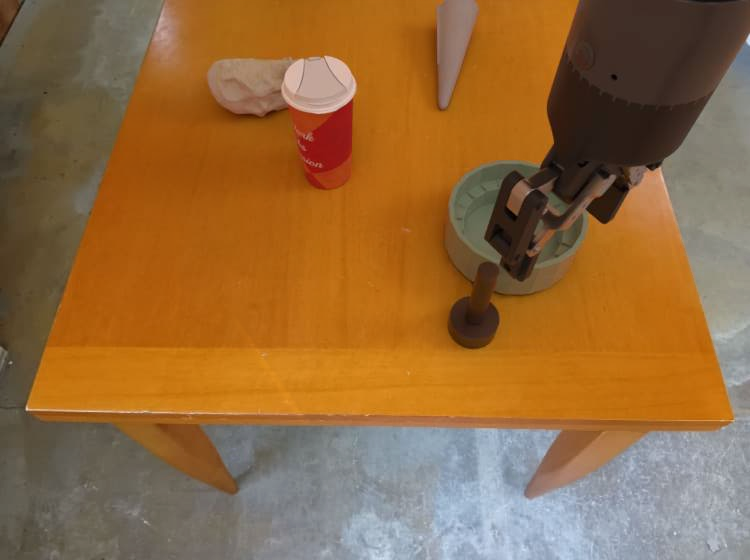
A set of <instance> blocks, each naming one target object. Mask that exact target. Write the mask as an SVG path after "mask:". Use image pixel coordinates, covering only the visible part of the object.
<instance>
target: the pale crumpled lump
mask: <svg viewBox="0 0 750 560" xmlns="http://www.w3.org/2000/svg"><path fill="white" fill-rule="evenodd" d="M300 59H301V58H294V59H293V58H292V56H288V57H283V58H282V59H267V58H256V57H247V58H245V57H243V58H241V57H240V58H239V57H238V58H223V59H219V60H215V61H213V62H212V65H211V66H210V68H209V69H208V70H207V73H206V82H207V86H208V88H209V91H210V93H211V95H212V96H213V98H214V99H215V101H216V102H217V103H218V104H219V105H220V106H221V107H222V108H224V109H226V110H227V111H229V112H231V113H233V114H237V115H243V114H244V115H245V114H252V115H255V116H258V117H261V118H264V117H265V115H266V114H267V113H270V112H272V111H277V112H279V111H281V110H284V109H287V108H288V104H287V102H286V101H285V99H284V98H283V96H282V92H281V87H282V83H283V81H284V76H285V73H286V71H287V70H288V68H289V67H290V66H291V65H292V64H293V63H295V62H296V61H298V60H300ZM303 59H304V62H305V60H307V59H309V57H307V58H303ZM288 109H289V108H288Z"/></svg>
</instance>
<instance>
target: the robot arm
mask: <svg viewBox="0 0 750 560" xmlns="http://www.w3.org/2000/svg"><path fill="white" fill-rule="evenodd" d="M576 5H577V6H576V8H575V12H574V15H573V18H572V21H571V24H570V26H569V27H570V28H569V30H568V34H567V36H566V39H565V43H564V46H563V49H562V53H561V55H560V59H559V61H558V62H559V63H558V65H557V68H556V71H555V74H554V78H553V81H552V84H551V87H550V90H549V94H548V97H547V101H546V115H547V120H548V123H549V126H550V131H551V133H552V140H553V144H552V145H551V147H550V148H549V150H548V151H547V152H546V153H545V156H544V158H543V160H542V161H541V164H540V165H541V166H540V169H539V171H538V172H537V173H535V174H534V175H532V176H530V177H528V178H525V177H524V176H522V175H521V174H520V173H519V172H518V171H517V170H514V171H512V172H510V173H509V174H508V175H507V176H506V177H505V178H504V180H503V182H502V184H501V187H500V190H499V193H498V196H497V199H496V202H495V205H494V209H493V212H492V215H491V218H490V221H489V224H488V227H487V230H486V233H485V236H484V239H485V240H486V241H487V242H488V243H489V244H490V245H491V246H492V247H493V248H494V249H495V250H496V251H497V252H498V253H499V254H500V255H501V256H502V257H501V260H500V266H501V267H502V268H503V269H504V270H505V271H506V272H507V273H508V274H509V275H510V276H511V277H512V278H513V279H517V280H518V281H520V282H523V281H524V280H526V279H527V278H528V277H530V276H531V273H532V271H533V268H534V266H535V264H536V261H537V259H538V257H539V254H540V252H541V250H542V247H543V246H544V245H545V244H546V243H547V241H548V240H549V239H550V238H551V237H552V235H553V234H554V233H555V232H556V231H561V230H567V229H568V228H569V227H570V226H571V225H572V224H573V223H574V221H575V220H576V219H577V218H578V217H579V216H580V214H581V213H582V212H583V211H584V210H585V209H586V210H587V213H588V214H590V215H591V216H592V217H593V218H594V219H596V220H597V221H598V222H599V223H600V224H602V225H607V224H608V223H610V222H611V221H613V220H614V219H615V218H616V215H617V214H618V212H619V210H620V208H621V207H622V205H623V203H624V201H625V199H626V198H627V196H628V194H629V192H630V191H631V190H632V189H635V188H636V187H638V186H639V185H640V184H641V183H642V180H643V179H644V174H646V172H647V171H648V170H649V171H650V172H654V171H655V170H657V169H659V168H660V167H661V166H662V165H663V163H664V160H665V159H667V158H668V157H671V156H672V155H673V154H674V153H676V151H677V150H679V148H680V147H681V146H682V145H683V143H684V142H685V140H686V138H687V136H688V135H689V133H690V132H691V130H692V128H693V127H694V126H695V124H696V122H697V120H698V119H699V117H700V116H701V114H702V112H703V110H704V109H705V108H706V106H707V104H708V103H709V101H710V99H711V98H712V96H713V95H714V93H715V92H716V90H717V88H718V86H719V85H720V83H721V82H722V80H723V79H724V77H725V75H726V73H727V72H728V70H729V69H730V67H731V65H732V64H733V62H734V60H735V59H736V57H737V55H738V54H739V52H740V51H741V49H742V47H743V46H744V44H745V43H746V41H747V39H748V37H749V36H750V0H578V1H577V4H576ZM550 190H551V191H552V192H553V193H554V194H555V195H556V196H557V197H558V198H560V199H561V200H562V201H563V202H564V203H566V204H568V205H569V207H568V208H567V209H566V210H565V212H564V213H563V214H560V213H559V212H558V211H557V210H556V209H555V208H553V207H552V206H551V205H550V204H549V203H548V200H549V198H548V197H547V196H546V194H547V193H548V192H549V191H550ZM540 219H542V221H543V223H544V224H543V227H542V228H541V229H540V231H539V232H538V233H537V234H536V236H535V235H534V232H535V230H536V227H537V225H538V223H539V221H540Z"/></svg>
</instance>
